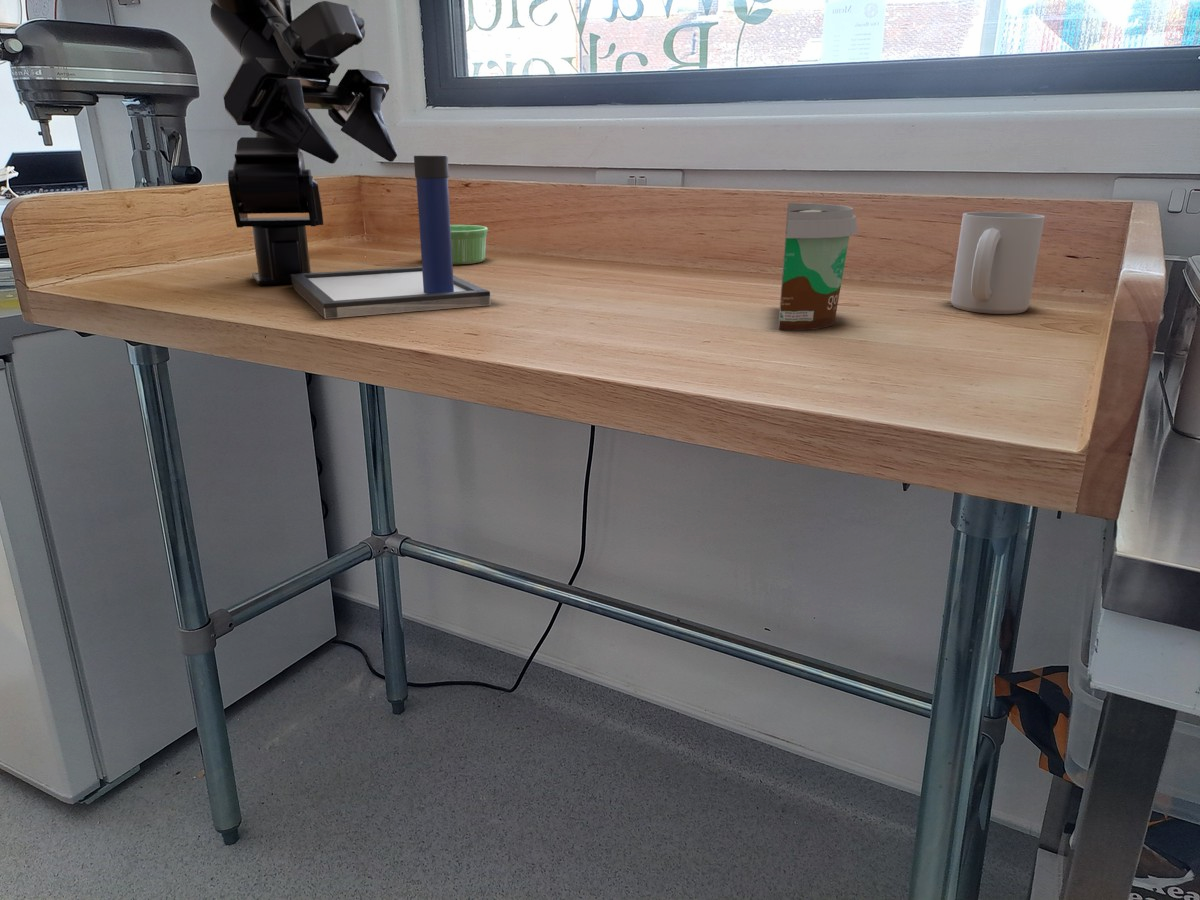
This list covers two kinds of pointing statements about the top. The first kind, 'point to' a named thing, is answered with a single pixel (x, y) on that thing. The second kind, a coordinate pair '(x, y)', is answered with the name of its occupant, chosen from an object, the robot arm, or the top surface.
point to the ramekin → (468, 244)
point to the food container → (814, 264)
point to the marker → (434, 222)
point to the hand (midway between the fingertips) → (366, 159)
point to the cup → (996, 261)
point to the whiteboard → (381, 292)
